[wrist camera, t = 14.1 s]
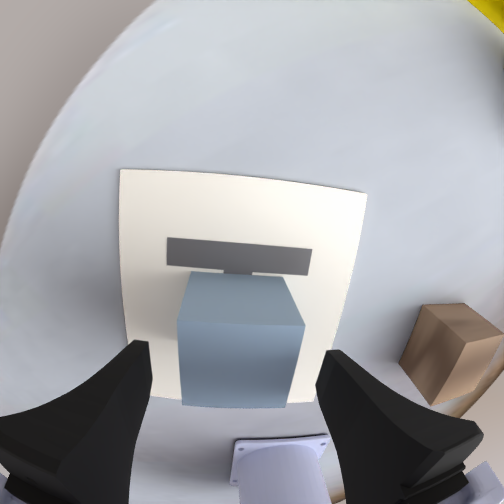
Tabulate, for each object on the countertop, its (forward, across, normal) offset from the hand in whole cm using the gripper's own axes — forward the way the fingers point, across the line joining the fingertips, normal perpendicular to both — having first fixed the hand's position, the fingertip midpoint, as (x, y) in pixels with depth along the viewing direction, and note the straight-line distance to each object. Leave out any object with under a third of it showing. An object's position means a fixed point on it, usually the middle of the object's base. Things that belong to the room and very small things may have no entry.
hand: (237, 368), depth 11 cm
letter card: (+4, 0, 0) cm, 5 cm away
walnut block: (+5, -15, +2) cm, 16 cm away
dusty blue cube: (+4, 0, 0) cm, 4 cm away
